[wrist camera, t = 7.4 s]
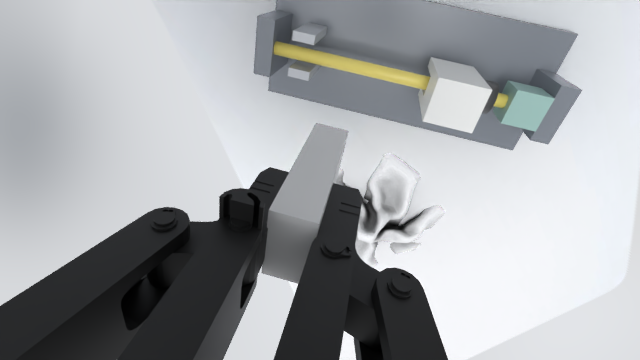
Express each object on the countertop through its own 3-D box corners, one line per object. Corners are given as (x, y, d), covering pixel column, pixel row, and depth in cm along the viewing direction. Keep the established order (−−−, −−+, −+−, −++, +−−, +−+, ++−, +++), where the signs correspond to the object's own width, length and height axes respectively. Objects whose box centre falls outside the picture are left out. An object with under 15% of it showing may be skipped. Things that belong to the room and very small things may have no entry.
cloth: (333, 272, 54) (326, 303, 49) (283, 178, 47) (268, 203, 42) (480, 247, 46) (490, 282, 41) (447, 129, 39) (455, 153, 33)
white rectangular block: (418, 93, 33) (422, 121, 27) (430, 56, 31) (439, 77, 25) (458, 103, 33) (471, 133, 27) (473, 66, 31) (492, 89, 25)
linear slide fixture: (271, 87, 39) (247, 109, 33) (283, -31, 33) (256, -32, 27) (509, 145, 37) (531, 179, 31) (572, 32, 31) (616, 46, 25)
